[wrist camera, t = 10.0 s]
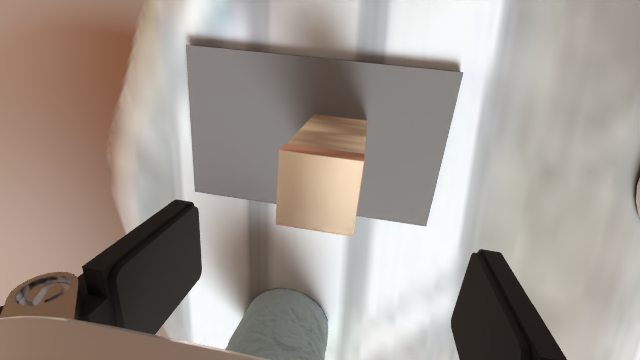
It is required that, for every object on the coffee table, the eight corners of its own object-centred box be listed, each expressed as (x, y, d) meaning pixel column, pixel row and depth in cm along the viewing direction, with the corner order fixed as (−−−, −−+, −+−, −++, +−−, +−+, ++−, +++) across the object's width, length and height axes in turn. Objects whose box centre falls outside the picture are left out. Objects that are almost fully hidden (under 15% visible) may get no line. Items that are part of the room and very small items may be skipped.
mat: (460, 71, 23) (463, 72, 22) (424, 221, 27) (426, 226, 27) (191, 45, 25) (186, 44, 24) (199, 188, 29) (194, 191, 29)
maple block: (367, 120, 24) (364, 161, 15) (360, 170, 26) (353, 236, 17) (314, 113, 25) (279, 150, 15) (310, 163, 26) (275, 224, 17)
